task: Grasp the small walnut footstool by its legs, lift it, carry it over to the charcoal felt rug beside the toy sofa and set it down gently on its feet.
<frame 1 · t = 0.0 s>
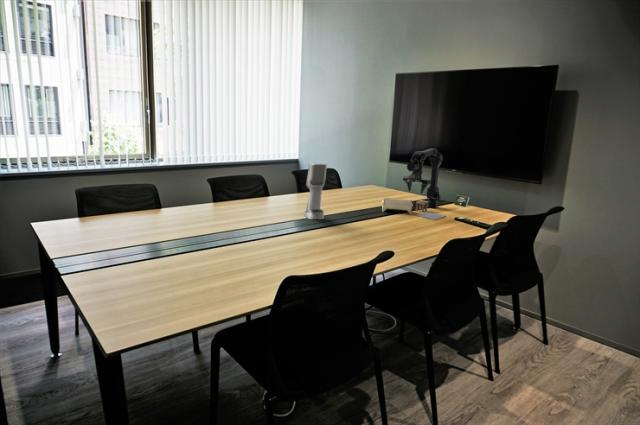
hand: (415, 192, 289), 15 cm above the table, fingers open, 9 cm apart
thermal camera: (314, 217, 270), on the table
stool: (421, 210, 301), on the table
toy sofa: (396, 212, 295), on the table
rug: (431, 216, 288), on the table
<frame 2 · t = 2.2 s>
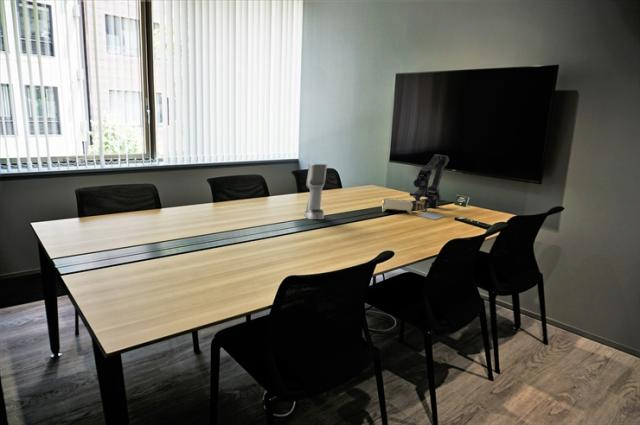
hand: (421, 207, 300), 3 cm above the table, fingers closed on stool, 6 cm apart
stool: (421, 210, 301), on the table, touching gripper
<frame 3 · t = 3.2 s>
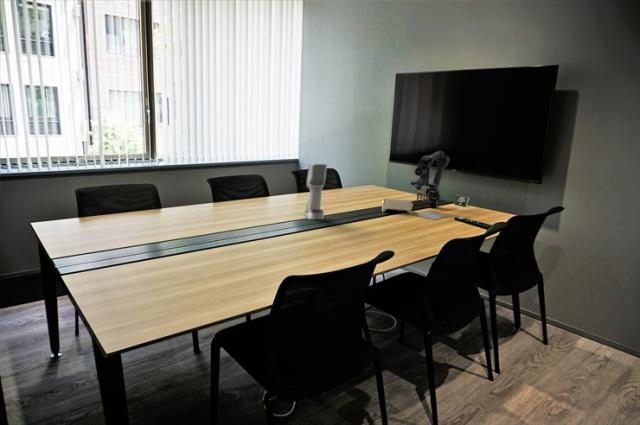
hand: (422, 196, 298), 10 cm above the table, fingers closed on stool, 6 cm apart
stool: (422, 199, 299), point 8 cm above the table, touching gripper
everything else where it was.
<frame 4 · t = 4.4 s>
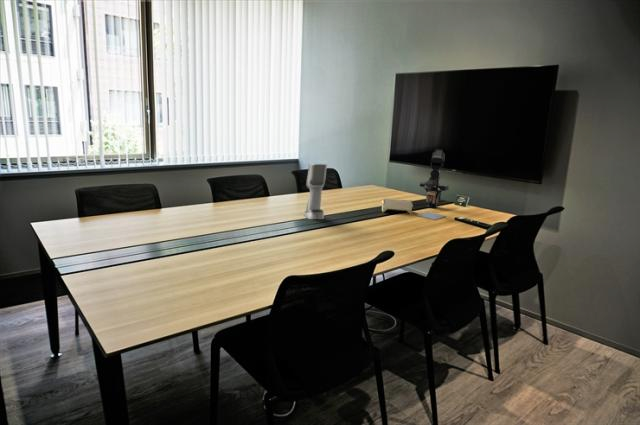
hand: (432, 198, 286), 12 cm above the table, fingers closed on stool, 6 cm apart
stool: (431, 202, 287), point 9 cm above the table, touching gripper
everything else where it was.
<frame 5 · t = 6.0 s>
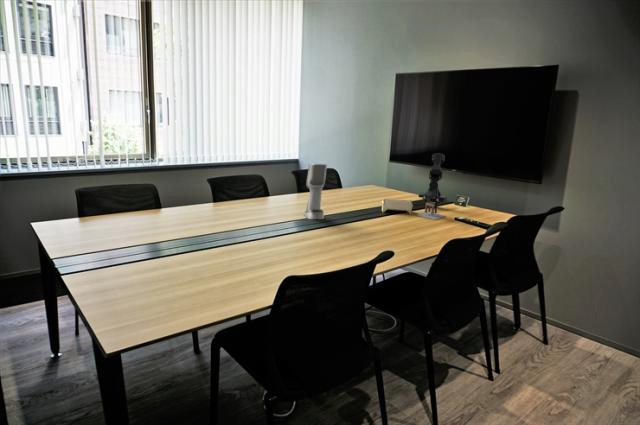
hand: (431, 209, 288), 4 cm above the table, fingers closed on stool, 6 cm apart
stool: (430, 212, 289), point 2 cm above the table, touching gripper
when the fingers open (4 cm above the table, at t = 7.1 s): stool stays where it is, resting on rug.
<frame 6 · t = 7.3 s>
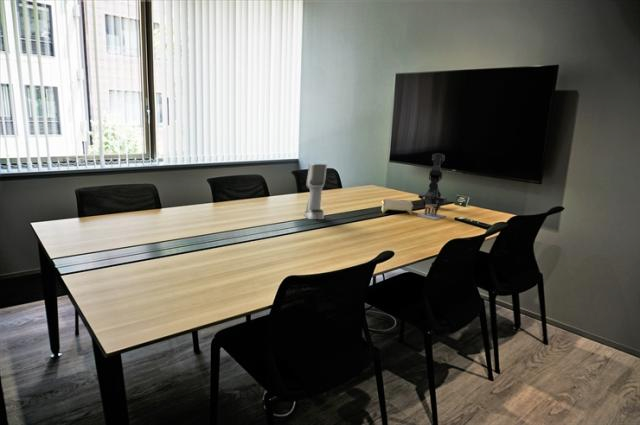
hand: (431, 210, 288), 4 cm above the table, fingers open, 8 cm apart
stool: (430, 214, 289), resting on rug
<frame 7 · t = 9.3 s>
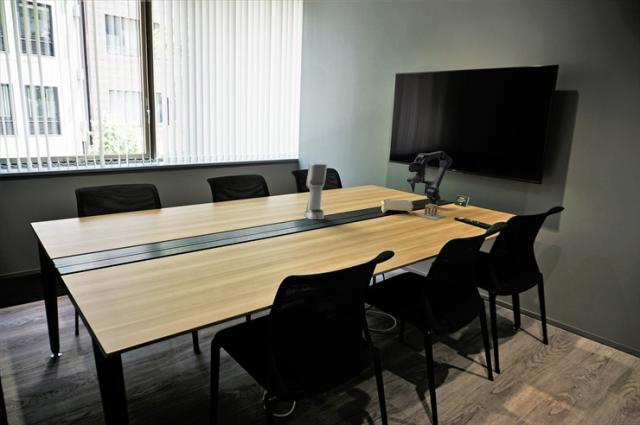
hand: (419, 193, 302), 12 cm above the table, fingers open, 9 cm apart
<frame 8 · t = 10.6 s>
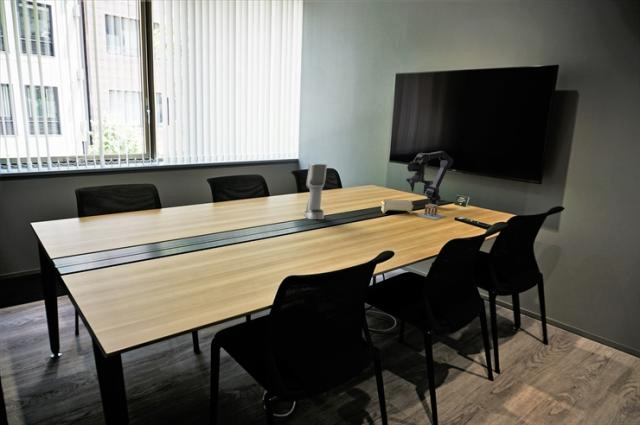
hand: (418, 192, 303), 12 cm above the table, fingers open, 9 cm apart
at the end: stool inside the target area on the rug (1.3 cm from its centre), point 0.4 cm above the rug's base; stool tilted 0°; the gripper is holding nothing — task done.
